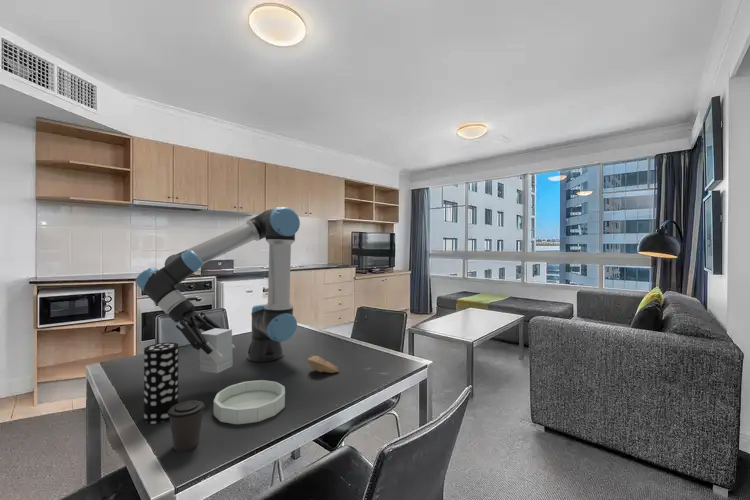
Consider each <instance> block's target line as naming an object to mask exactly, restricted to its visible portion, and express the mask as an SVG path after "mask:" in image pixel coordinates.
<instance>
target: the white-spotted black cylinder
mask: <svg viewBox="0 0 750 500" xmlns="http://www.w3.org/2000/svg"><path fill="white" fill-rule="evenodd" d="M178 403H179V344H178V343H176V342H161V343H160V342H159V343H156V344H151V345H148V346H146V347H145V348H144V349H143V408H144V409H143V421H144V423H146V424H150V425H151V424H152V425H153V424H161V423H164V422H167V421H168V422H169V421H170V416H168V414H167V413H168V411H169V409H170V408H171V407H172V406H174V405H176V404H178Z"/></svg>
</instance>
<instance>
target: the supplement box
mask: <svg viewBox="0 0 750 500" xmlns="http://www.w3.org/2000/svg"><path fill="white" fill-rule="evenodd" d="M201 334H202V335H203V337H204V339H205V341H206V343H207V342H209V343H210V344H211V345H212V346H213V347H214V348H215V349H216V350H217V351H218V352H219V353H221V354H222V355H223V356H222V357H221V358H220V359H219V360H218V361H217V362H215V361H214V360H213V359H212V358H211V357H210V356H209V355H208V354H207V353H206V352H205V351H204V350H203V349H201V348H200V349H199V371H200V372H206V373H210V374H211V373H213V374H219V373H221V372H223V371H225V370H227V369H229V368H231V367H233V363H234V362H233V349H232V344H233V329H229V328H228V329H227V328H222V329H219V328H214V329H211V330H208V331H203V332H201Z"/></svg>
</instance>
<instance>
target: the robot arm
mask: <svg viewBox="0 0 750 500" xmlns="http://www.w3.org/2000/svg"><path fill="white" fill-rule="evenodd" d="M300 225H301V223H300V217H299V215H298V214H297V213H296V211H295V210H293V209H292V208H289V207H287V206H286V207H285V206H284V207H283V206H282V207H281V206H278V207H275V208H272V209H267V210H265V211H263V212H261V213H259V214H258V215H256V216H254V217H251V218H250V219H248V220H246V222H245V223H244V224H242V225H239V226H238V227H236V228H233V229H231V230H229V231H225V232H224V233H221V234H220V235H217V236H215V237H212V238H210V239H208V240H205V241H203V242H201V243H198V244H197V245H194V246H192V247H190V248H187V249H185V250H183V251H181V252H178V253H176V254H171V255H170V256H168V257H167V258H166V259H165V261H164V266H162V267H161V268H159V269H157V267H149V268H148V269H145V270H143V271H142V272H141V273H139V274H138V275H137V277H136V278H135V283H136V285H137V286H138V287H139V289H141V291H142V292H143V293H144V294H145V295H146V296H147V297H148V298H149V299H150V300H152V302H154V303H155V304H156V305H157V306H158V307H159V308H160V309H161V311H163V312H164V313H165V314H167V315H168V317H169V318H170V319H171V321H173V322H174V323H177V324H176V326H175V327H176V328H177V329H178V331H180V332H181V334H182V335H183V336H184V337H185V339H186V340H187V341H188V343H189V344H190V346H192V348H193V349H196V350H197V351H200V348H201V349H203V350H204V351H205V352H206V353H207V354H208V355H209V356H210V357H211V358H212V359H213V360H214V361H215V362H217V361H218V360H219V359H220V358H221V357H222V356H223V355H222V354H221V353H219V352H218V351H217V350H216V349H215V348H214V347H213V346H212V345H211V344H210V343H209V342H207V343H206V341H205V339H204V337H203V335H202V334H201V333H202V332H201V330H202V331H203V332H205V331H208V330H211V329H214V328H219V329H223V328H222V327H221V326H219V325H218V324H217V323H216V322H214V321H213V320H212V319H210V317H209V316H207V315H206V314H205V313H204V311H203V312H202V311H201V312H200V313H199V314H198V313H197V312H196V311H195V309H196V306H195V305H194V304H193V302H191V301H190V299H187V297H186V296H185V295H184V294H183V293H182V292H181V291H180V290H179V289H177V286H179V285H180V284H181V283H182V282H184V281H185V280H186V279H188V278H189V277H190V276H192V275H193V274H194V273H197V272H198V270H199V269H201V268H202V267H203V265H204V264H205V263H207V262H208V263H209V261H211V260H214V259H216V258H218V257H220V256H223V255H225V254H227V253H230V252H231V251H234V250H235V249H238V248H239V247H243V246H244V245H247V244H248V243H251V242H253V241H256V242H257V241H261V240H262V239H265V241H266V242H267V243H268V244H269V247H268V248H269V249H268V250H269V251H268V252H269V253H268V282H267V286H268V287H267V303H266V304H258V305H253V307H252V308H251V313H250V314H251V341H250V344H249V347H248V350H247V355H246V357H247V360H249V361H251V362H255V363H259V362H260V363H266V362H271V361H277V360H278V359H281V358H282V357H283V356H284V349H283V345H282V343H283V342H286V341H288V340H290V339H291V338H292V337H294V335H295V334H296V332H297V328H298V321H297V318H296V317H295V316H294V306H293V305H292V304H291V303H290V297H291V296H290V295H291V292H290V291H291V262H292V261H291V259H292V258H291V256H292V255H291V254H292V252H291V251H292V244H293V243H294V242H295V241H296V233H297V232H298V231H299V229H300ZM235 347H236V346H235V345H234V344H233V343H232V350H234V349H235Z"/></svg>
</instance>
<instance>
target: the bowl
mask: <svg viewBox="0 0 750 500" xmlns="http://www.w3.org/2000/svg"><path fill="white" fill-rule="evenodd" d="M285 407H286V386H284V385H283V384H281V383H279V382H278V381H273V380H265V379H259V380H258V379H257V380H256V379H255V380H249V381H248V380H247V381H246V380H245V381H241V382H239V383H235V384H232V385H228V386H227V387H225V388H224V389H222V390H220V391H219V392H217V393H216V395H215V398H214V399H213V416H214V417H215V418H216V419H217V420H218V421H220V422H221V423H228V424H232V425H242V424H243V425H244V424H252V423H258V422H262V421H264V420H267V419H269V418H272V417H274V416H276V415H278V414H279V413H280V412H281V410H283V409H284V408H285Z"/></svg>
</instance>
